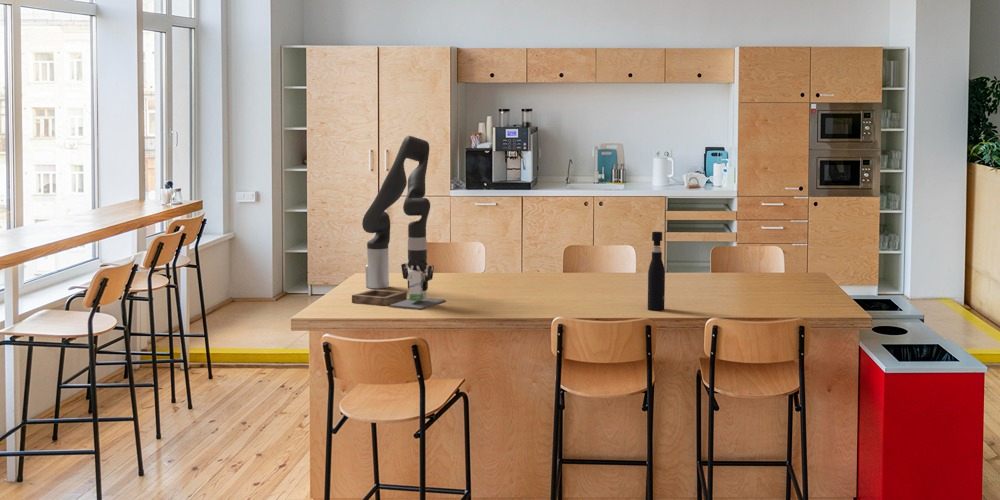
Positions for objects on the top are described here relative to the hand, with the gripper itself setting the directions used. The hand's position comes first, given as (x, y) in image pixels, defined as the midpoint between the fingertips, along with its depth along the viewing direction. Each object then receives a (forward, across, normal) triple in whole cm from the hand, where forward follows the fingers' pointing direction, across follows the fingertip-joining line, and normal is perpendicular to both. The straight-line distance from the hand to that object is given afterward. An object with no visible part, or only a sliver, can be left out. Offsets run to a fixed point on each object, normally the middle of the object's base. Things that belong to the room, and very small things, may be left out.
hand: (417, 290), depth 413 cm
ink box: (+4, 0, 0) cm, 4 cm away
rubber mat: (+6, 0, 0) cm, 6 cm away
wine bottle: (+6, -89, -29) cm, 94 cm away
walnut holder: (+6, +18, 0) cm, 19 cm away
